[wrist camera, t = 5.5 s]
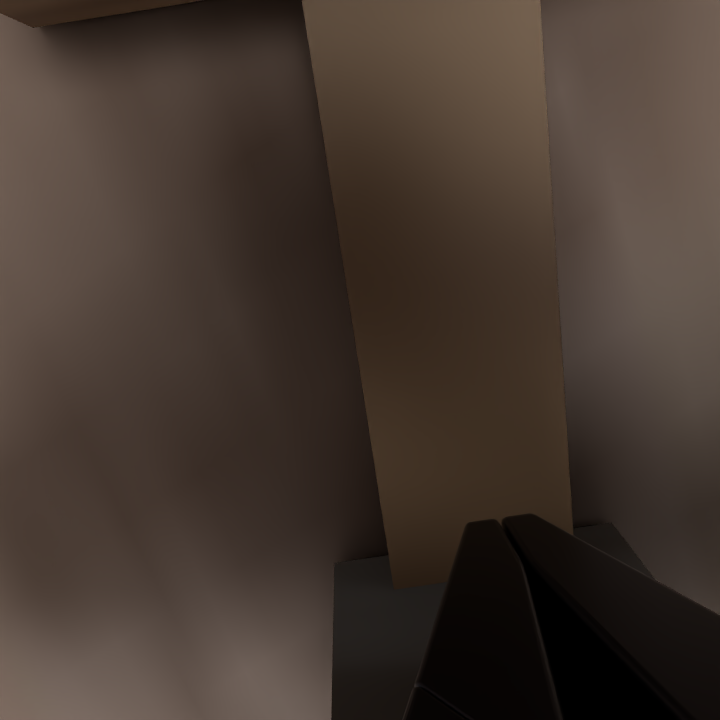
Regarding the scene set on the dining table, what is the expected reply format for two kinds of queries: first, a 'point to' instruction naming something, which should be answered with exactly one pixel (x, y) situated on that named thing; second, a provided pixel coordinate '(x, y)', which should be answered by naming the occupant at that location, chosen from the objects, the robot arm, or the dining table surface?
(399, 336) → the tan tray with handle
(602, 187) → the dining table surface
